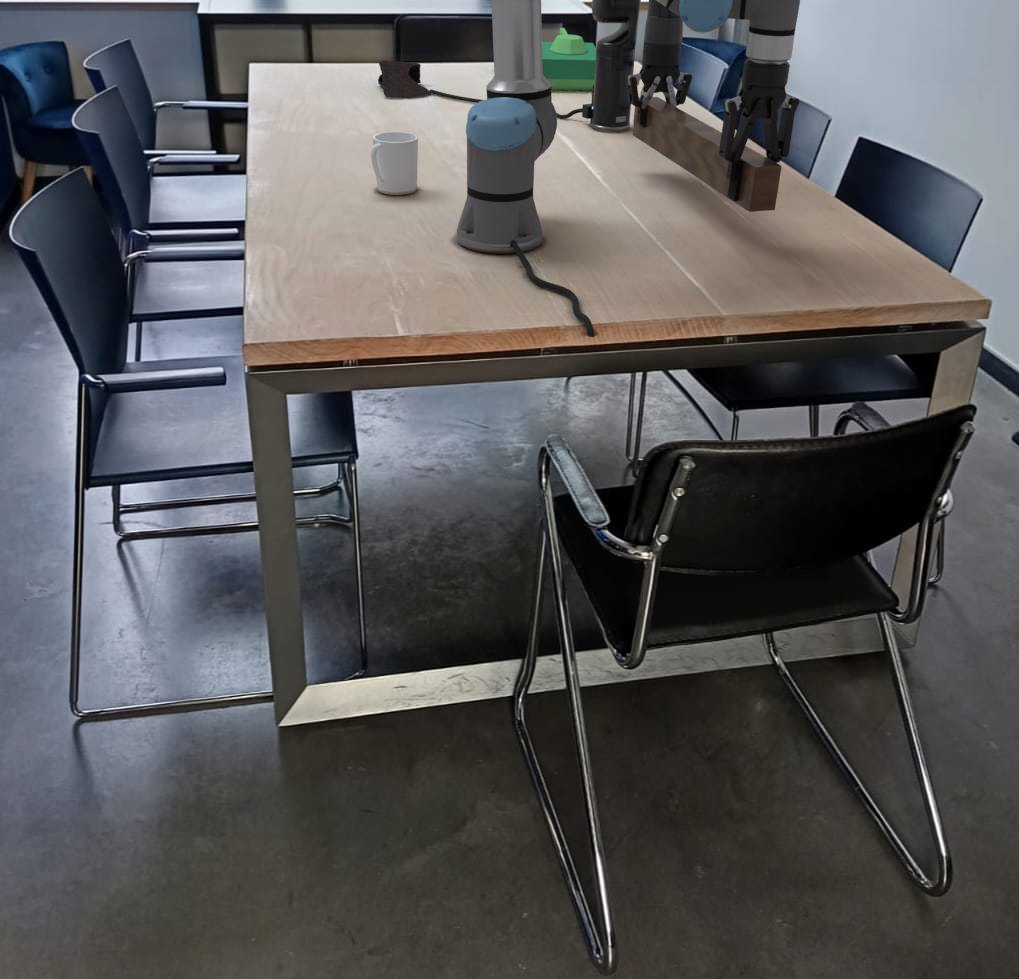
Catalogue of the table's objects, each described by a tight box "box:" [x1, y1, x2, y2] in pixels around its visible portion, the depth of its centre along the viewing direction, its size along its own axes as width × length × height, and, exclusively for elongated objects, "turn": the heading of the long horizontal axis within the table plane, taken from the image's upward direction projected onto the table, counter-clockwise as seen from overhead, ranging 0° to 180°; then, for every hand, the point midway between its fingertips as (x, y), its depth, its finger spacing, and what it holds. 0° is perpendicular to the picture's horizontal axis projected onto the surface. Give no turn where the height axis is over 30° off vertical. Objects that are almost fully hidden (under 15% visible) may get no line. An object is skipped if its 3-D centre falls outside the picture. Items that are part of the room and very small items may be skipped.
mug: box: [370, 131, 419, 196], centre depth 218 cm, size 11×9×10 cm
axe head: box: [377, 59, 433, 99], centre depth 299 cm, size 18×8×15 cm
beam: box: [632, 96, 783, 213], centre depth 210 cm, size 53×5×8 cm, turn 17°
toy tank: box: [542, 27, 596, 91], centre depth 315 cm, size 18×12×35 cm
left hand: (747, 197), depth 194 cm, fingers closed on beam, 5 cm apart
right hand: (654, 125), depth 227 cm, fingers closed on beam, 5 cm apart
